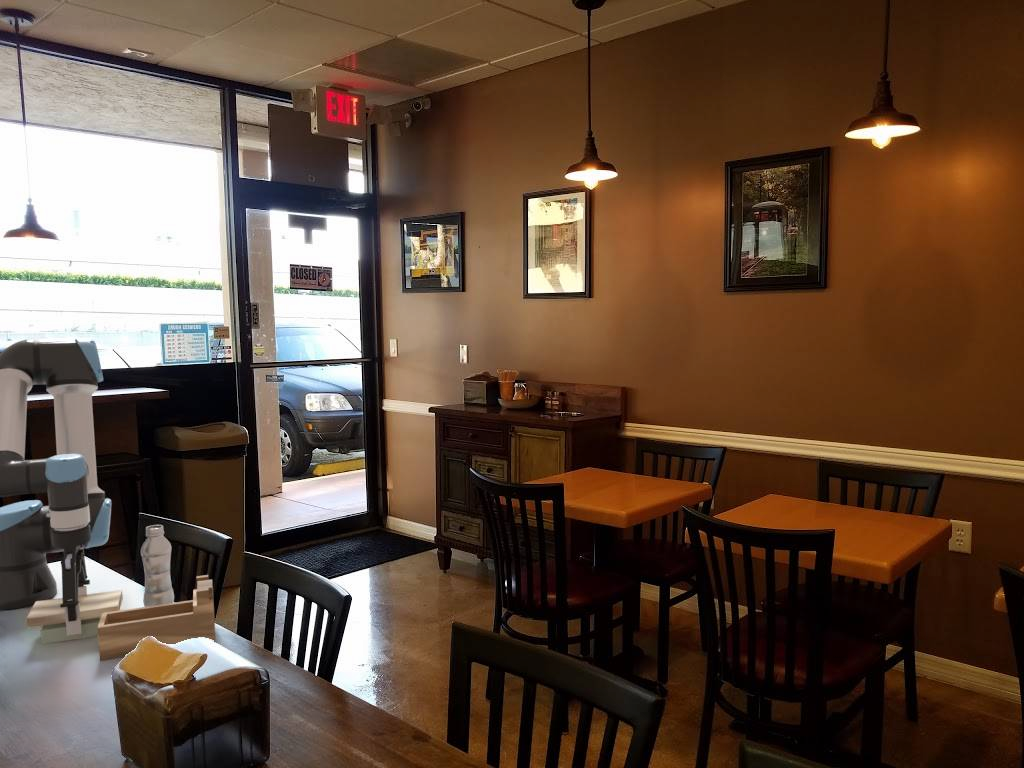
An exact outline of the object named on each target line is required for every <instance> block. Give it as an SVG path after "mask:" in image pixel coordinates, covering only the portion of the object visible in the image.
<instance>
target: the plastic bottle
mask: <svg viewBox="0 0 1024 768" xmlns="http://www.w3.org/2000/svg"><path fill="white" fill-rule="evenodd" d="M164 534H165V531H164V525H162V524H153V525H149V526H146V527H145V537H147V538H146V539H145V541H144V542H143V543H142V546H141V548H140V556H141V560H142V564H143V570H144V592H143V601H142V602H143V607H148V606H155V605H162V604H169V603H175V594H174V592H175V591H174V588H173V587H172V580H171V557H172V556H171V555H172V545H171V542H170V541H169V540H168V539H167V538H166V537H165V536H164Z"/></svg>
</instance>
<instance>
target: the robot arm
mask: <svg viewBox="0 0 1024 768" xmlns="http://www.w3.org/2000/svg"><path fill="white" fill-rule="evenodd" d="M101 382H104V376H103V369H102V365H101V362H100V356H99V352H98V347H97V344H96V341H94V340H93V339H92V338H89V337H75V336H74V337H65V338H64V337H62V338H61V337H60V338H35V339H34V338H28V339H23V340H19V341H17V342H15V343H13V344H10V345H9V346H8V347H6V348H4V349H3V350H2V351H1V352H0V498H4V497H12V496H19V495H21V496H22V495H30V494H41V493H43V494H44V493H47V498H48V505H44V504H43V502H42V501H41V500H38V499H34V500H33V499H32V500H31V499H30V500H24V501H18V502H14V503H11V504H7V505H3V506H1V507H0V610H1V611H2V610H14V609H20V608H25V607H29V606H33V605H34V604H35V602H36V601H43V600H50V599H52V598H53V597H54V596H56V594H57V592H58V588H57V587H58V585H57V581H56V579H55V577H54V575H53V573H52V571H51V569H50V566H49V564H48V562H47V554H50V553H52V554H53V553H60V552H62V554H61V555H60V565H61V586H62V587H61V588H62V589H61V590H62V591H61V592H62V597H61V598H63V603H62V604H60V607H65V618H66V630H67V636H68V635H75V634H81V633H82V629H81V616H80V603H79V601H78V596H81V595H88V590H87V585H90V584H91V582H90V581H91V580H90V579H88V575H87V565H86V560H85V559H86V557H85V550H84V549H89V548H93V547H99V546H103V545H105V544H106V543H107V542H108V541H109V536H110V527H111V515H112V499H110V498H109V497H106V494H105V493H106V492H105V490H102V489H101V488H100V487H99V485H98V476H97V475H98V474H97V471H98V470H97V459H96V458H97V457H96V445H95V443H96V441H95V428H94V413H93V410H94V409H93V394H94V393H95V392H96V391H98V389H99V387H98V386H99V385H98V383H101ZM34 385H40V386H41V385H46V386H45V388H46V392H48V393H49V395H51V396H52V397H53V407H54V408H53V409H54V425H55V445H56V455H53V456H50V457H47V458H40V459H25V454H26V435H27V433H26V432H27V414H28V413H27V412H28V411H27V410H28V409H27V408H28V394H29V393H30V391H31V390H32V388H33V386H34ZM68 600H69V601H68Z"/></svg>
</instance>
